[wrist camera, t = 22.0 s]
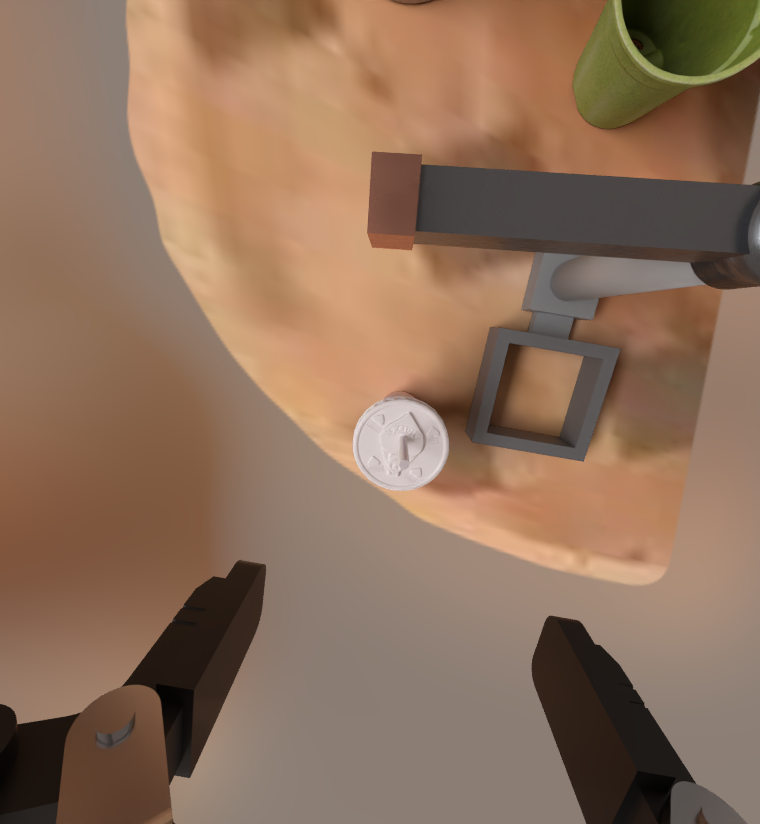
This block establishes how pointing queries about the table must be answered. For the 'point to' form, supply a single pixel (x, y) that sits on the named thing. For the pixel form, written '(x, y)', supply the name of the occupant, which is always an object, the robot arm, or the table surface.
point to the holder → (566, 342)
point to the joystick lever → (568, 215)
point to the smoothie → (400, 442)
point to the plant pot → (661, 54)
